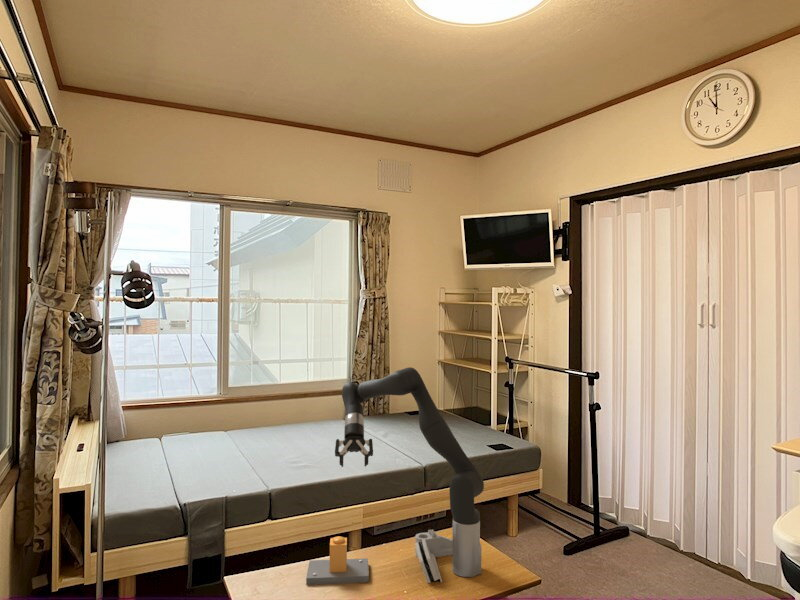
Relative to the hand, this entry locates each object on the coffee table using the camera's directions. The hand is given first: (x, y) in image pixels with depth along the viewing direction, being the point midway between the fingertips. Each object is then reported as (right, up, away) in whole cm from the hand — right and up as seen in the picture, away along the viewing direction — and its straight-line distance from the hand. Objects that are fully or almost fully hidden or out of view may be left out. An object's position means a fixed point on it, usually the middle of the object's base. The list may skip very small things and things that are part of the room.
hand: (354, 465), depth 196 cm
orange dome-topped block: (-4, -28, -18) cm, 34 cm away
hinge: (+26, -31, -16) cm, 44 cm away
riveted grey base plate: (-4, -30, -18) cm, 36 cm away
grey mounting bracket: (+31, -31, -3) cm, 44 cm away
